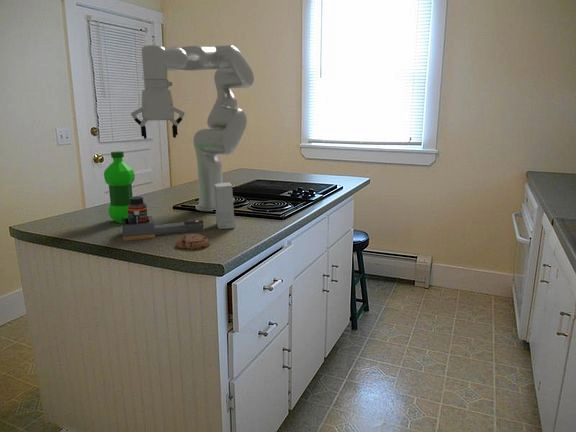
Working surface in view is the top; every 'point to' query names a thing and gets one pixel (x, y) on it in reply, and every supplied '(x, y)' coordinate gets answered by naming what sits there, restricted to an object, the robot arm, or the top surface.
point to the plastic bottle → (119, 186)
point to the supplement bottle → (137, 211)
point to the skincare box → (224, 205)
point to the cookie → (192, 242)
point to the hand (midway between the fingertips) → (159, 137)
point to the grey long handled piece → (156, 228)
